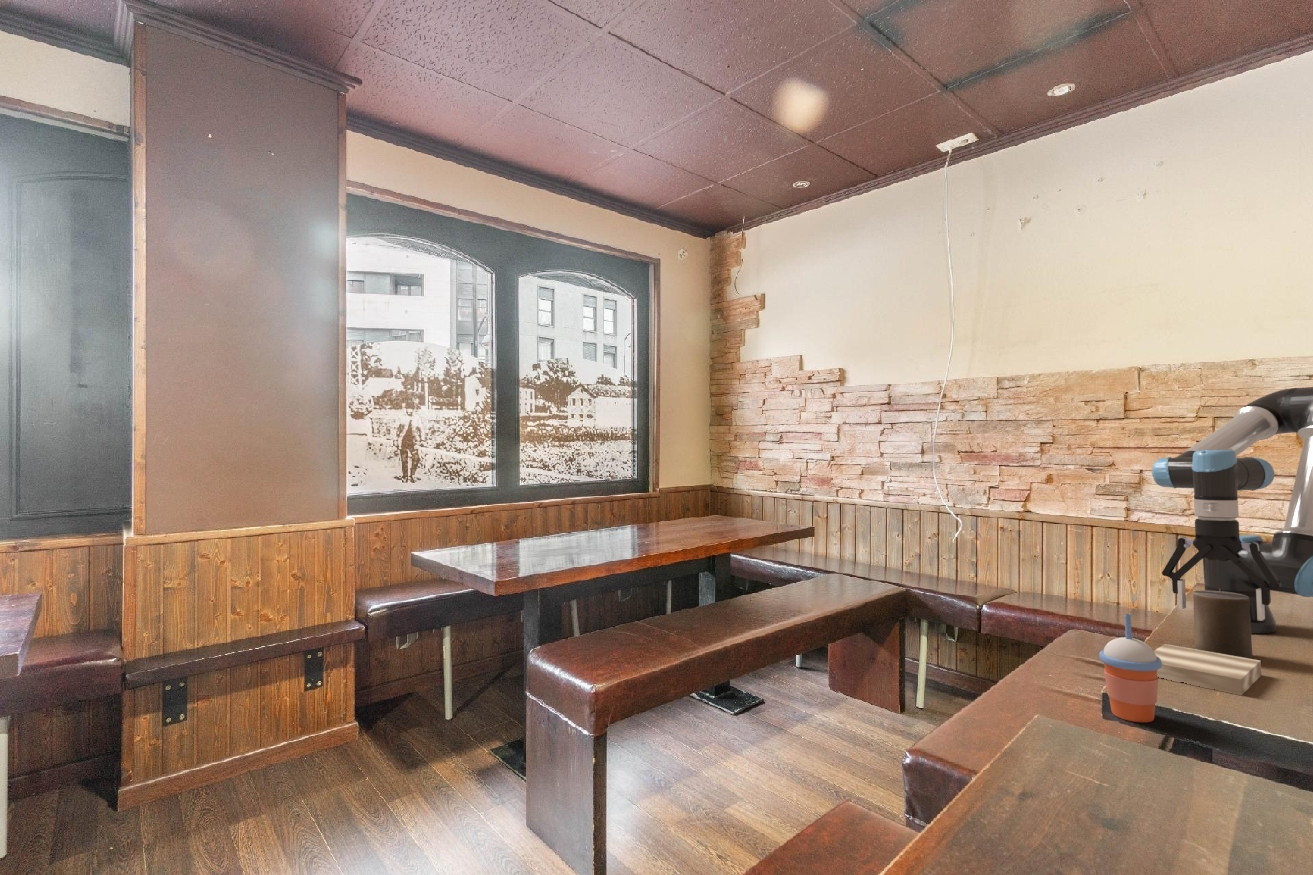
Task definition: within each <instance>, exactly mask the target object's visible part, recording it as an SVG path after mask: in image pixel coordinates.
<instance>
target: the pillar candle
mask: <svg viewBox="0 0 1313 875" xmlns="http://www.w3.org/2000/svg"><path fill="white" fill-rule="evenodd" d="M1219 590H1220V591H1205V590H1195V591H1193V592H1192V596H1193V598H1192V599H1193V619H1194V620H1193V621H1194V623H1193V624H1194V649H1197V650H1203V651H1208V652H1214V653H1220V654H1226V655H1231V656H1237V657H1243V658H1248V659H1253V658H1254V657H1253V643H1252V642H1253V641H1252V639H1253V638H1252V633H1251V618H1250V599H1249V597H1248V596H1246V595H1242V594H1237V593H1231V592H1222V591H1221V589H1219Z"/></svg>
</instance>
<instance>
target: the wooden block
mask: <svg viewBox="0 0 1313 875" xmlns="http://www.w3.org/2000/svg"><path fill="white" fill-rule="evenodd" d="M1153 651H1154V653H1155V654H1156V656H1157V657H1159V658H1160V659H1161V661H1162V667H1161V668H1160V669H1158V670H1157V676H1158V677H1159V678H1158V679H1161V678H1164V679H1163V680H1166V679H1167V680H1168V681H1171V680H1172V681H1173V682H1176V683H1180V682H1184V683H1183V684H1185V683H1187V685H1190V684H1191V686H1196V687H1199V686H1200V687H1201V688H1205V689H1210V690H1214V689H1215V690H1214V691H1219V692H1224V693H1227V694H1228V693H1229V694H1233V695H1238V696H1243V695H1244V694H1245V693H1246V691H1248V690H1249V689H1250V688H1251V686H1253V685H1254V683H1256V681H1258V680H1259V678H1261V676H1262V663H1261V660H1258V659H1248V658H1243V657H1237V656H1231V655H1226V654H1220V653H1214V652H1208V651H1203V650H1197V649H1195V648H1191V647H1185V646H1179V645H1174V644H1168V643H1163V644H1162V645H1160V646H1159V647H1157V648H1156V649H1155V650H1153ZM1167 680H1166V681H1167Z"/></svg>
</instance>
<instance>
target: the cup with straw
mask: <svg viewBox="0 0 1313 875" xmlns="http://www.w3.org/2000/svg"><path fill="white" fill-rule="evenodd" d="M1124 627H1125V628H1124V629H1125V636H1124V637H1115V638H1114V639H1112V640H1110V641H1108V642H1107V644H1105V646H1104V648H1103V649H1102V650H1100V651H1099V654H1098V656H1099V657H1098V658H1099V660H1100V661H1101V662H1102V663H1103V664H1104V666H1103V667H1104V669H1103V673H1104V680H1105V685H1106V692H1107V695H1108V698H1109V699H1108V700H1109V703H1110V711H1111V713H1112V714H1113V715H1114V716H1115V717H1117V718H1120V719H1122V720H1125V721H1129V722H1134V723H1151V722H1153V721H1154V720H1155V712H1156V711H1155V710H1156V704H1157V703H1158V690H1159V689H1158V688H1159V687H1158V686H1159V678H1158V676H1157V670H1158V669H1160V668H1161V667H1162V661H1161V659H1160V658H1159V657H1157V656H1156V654H1155V653H1154V650H1153V648H1152V647H1151V646H1150V645H1149V644H1147V643H1145V642H1144V641H1143V640H1140V639H1137V638H1133V634H1132V615H1131V614H1130V613H1125V614H1124Z"/></svg>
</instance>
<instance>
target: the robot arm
mask: <svg viewBox="0 0 1313 875" xmlns="http://www.w3.org/2000/svg"><path fill="white" fill-rule="evenodd" d="M1292 433H1293V434H1295V433H1296V434H1297V436H1298V437H1300V439H1301V440H1303V444H1302V447H1301V448H1302V449H1301V453H1300V457H1299V462H1298V465H1297V470H1296V474H1295V478H1294V482H1293V487H1292V492H1291V498H1290V500H1289V505H1288V509H1287V513H1286V518H1285V522H1284V527H1283V528H1282V529H1280V530H1278V531H1275V532H1274V533H1273V536H1272V541H1271V542H1265V541H1264V540H1263V538H1262V536H1261V535H1256V534H1242V535H1240V524H1239V523H1240V522H1239V521H1238V520H1237V518H1239V516H1240V515H1239V513H1240V512H1239V498H1238V491H1239V492H1240V491H1253V492H1254V491H1256V490H1257V491H1258V490H1262V489H1265V488H1267V487H1268V486H1270V485H1271V484H1272V482H1273V481H1274V479H1275V474H1276V473H1275V470H1274V468H1273V466H1272V464H1271V463H1270V462H1268V461H1267V460H1266V459H1263V458H1260V457H1259V458H1258V457H1254V456H1253V457H1252V456H1244V457H1237V456H1238V455H1240V454H1241V453H1243V452H1244V451H1246V450H1247V449H1248V448H1250V447H1252V446H1253V445H1254V444H1256V443H1257V442H1259V441H1263V440H1264V441H1265V440H1268V439H1270V438H1273V436H1275V435H1281V434H1292ZM1151 474H1152V475H1151V476H1152V477H1153V481H1154V483H1156V484H1157V486H1160V487H1163V488H1172V489H1193V505H1194V506H1193V508H1194V512H1193V513H1194V516H1195V517H1197V518H1195V520H1194V529H1195V530H1194V535H1195V537H1194V539H1193V538H1192V539H1191V538H1187V537H1185V536H1183V537H1179V538H1178V539H1177V545H1176V548H1175V550H1174V552H1173V553H1172V555H1171V557H1170V558H1169V560H1168V561H1167V564H1166V565H1165V566H1164V568H1163V570H1162V572H1161V575H1162V576H1164V577H1167V578H1170V579H1171V582H1172V583H1171V584H1172V586H1171V587H1172V592H1173V594H1177V601H1178V603H1177V605H1178V610H1185V609H1186V608H1187V594H1186V579H1184V578H1183V579H1182V577H1183V576H1184V575H1185V574H1186V573H1188V572H1189V571H1190V570H1191V569H1192V568H1194V566H1196V565H1197V564H1198V563H1199V562H1200V561H1201V560H1202V568H1203V585H1204V591H1220V590H1219V589H1221V591H1222V592H1231V593H1237V594H1242V595H1246V596H1248V597H1249V599H1250V618H1251V634H1270V633H1274V632H1276V631H1277V621H1276V619H1275V617H1274V614H1273V612H1272V610H1271V608H1270V606H1269V605H1270V604H1271V603H1272V602H1271V601H1272V599H1271V598H1272V597H1271V592H1276V593H1277V592H1278V593H1284V594H1288V595H1289V594H1290V595H1295V596H1301V597H1303V598H1313V386H1306V387H1292V388H1284V389H1281V390H1277V391H1274V392H1271V393H1269V394H1266V395H1264V396H1261V397H1258V398H1257V399H1255V400H1253V401H1250V402H1249V403H1247V404H1246V405H1244V406H1242V407H1241V408H1240V409H1239V410H1237V411H1236V412H1235V413H1234V415H1233V418H1232V419H1230V420H1229V421H1228V422H1227V423H1225V424H1223V425H1222V426H1220V427H1219V428H1218V429H1216V430H1215V431H1213V432H1212V433H1210V434H1208V435H1207V436H1206V437H1204V438H1203V439H1202V440H1199V441H1198V442H1197V443H1195V444H1194V445H1193V446H1191V447H1189V448H1188V449H1186V450H1185V451H1183V452H1182V453H1180V454H1179V455H1177V456H1175V457H1172V456H1168V457H1161V458H1158V459H1156V460H1155V461H1154V462H1153V465H1152V468H1151ZM1191 545H1193V546H1194V547H1195V549H1197V552H1196V553H1195V554H1193V556H1192V557H1191V558H1189V560H1188V561H1186V562H1185V563H1184V564H1183V565H1182V566H1181V567H1180V568H1178V570H1176V571H1175V572H1174V570H1175V568H1176V567H1177V565H1178V564H1179V561H1180V560H1181V558H1182V557H1183V555H1184V554H1185V553H1186V552H1185V551H1186V550H1187V549H1188V548H1190V547H1191Z"/></svg>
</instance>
